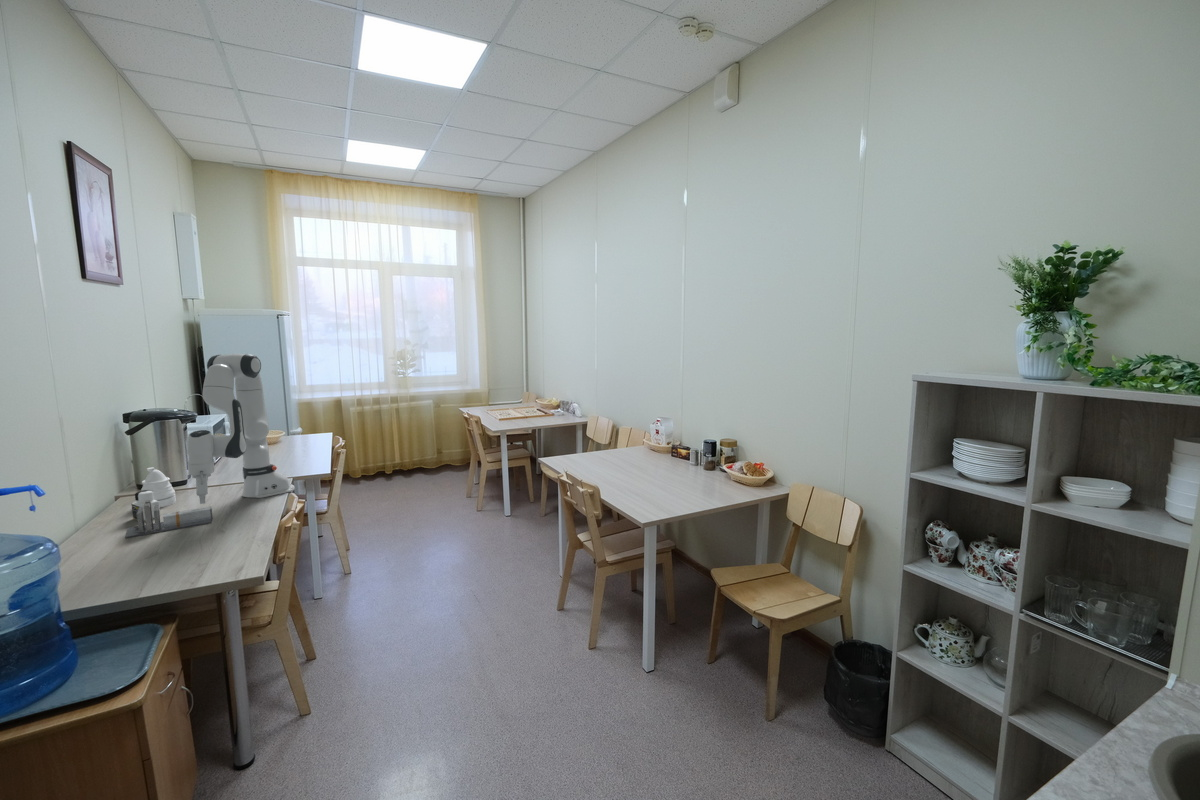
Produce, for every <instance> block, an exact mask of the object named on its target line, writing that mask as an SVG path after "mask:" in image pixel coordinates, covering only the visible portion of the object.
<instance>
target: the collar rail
mask: <svg viewBox="0 0 1200 800" xmlns="http://www.w3.org/2000/svg"><path fill="white" fill-rule="evenodd" d="M144 512H145V521H144V514H143V507H139V508H138V512H137V519H138V520H137V525H136V526H130V527H128V528H127V532H126V535H125V539H129V538H136V537H140V536H146V535H152V534H157V533H163V532H164V533H165V532H169V531H175V530H179V529H185V528H191V527H197V526H202V525H207V524H208V525H209V524H212V523H213V522H212V519H209V520H203V521H197V522H191V523H186V524H180V525H174V526H169V527H164V521H161V512H160V513H159V504H158V505H155V506H154V518H153V516H152V507H151V500H145V504H144Z"/></svg>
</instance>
